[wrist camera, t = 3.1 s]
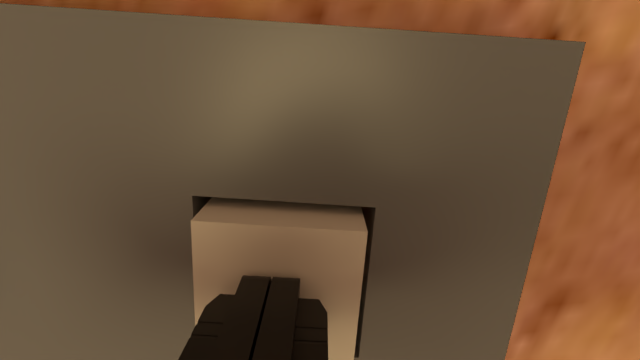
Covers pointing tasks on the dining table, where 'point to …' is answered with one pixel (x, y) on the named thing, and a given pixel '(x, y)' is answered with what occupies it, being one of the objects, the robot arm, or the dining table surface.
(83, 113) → the key panel
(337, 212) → the tan square block
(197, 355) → the robot arm
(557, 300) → the dining table surface
